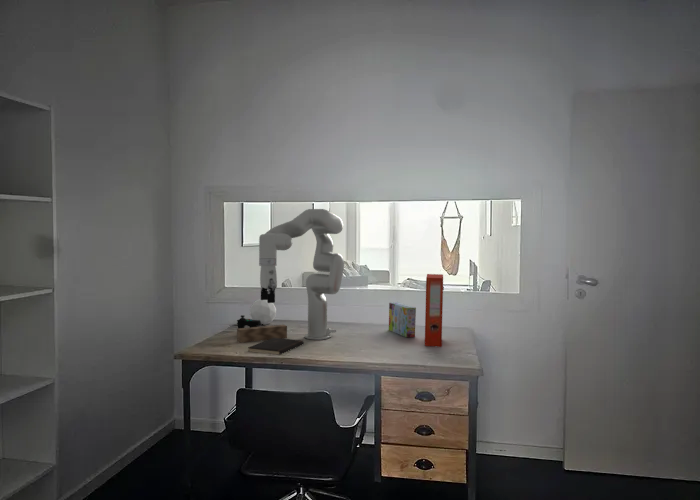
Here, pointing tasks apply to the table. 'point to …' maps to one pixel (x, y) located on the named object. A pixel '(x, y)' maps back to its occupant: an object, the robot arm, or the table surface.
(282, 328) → the brown wooden block
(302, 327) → the table surface
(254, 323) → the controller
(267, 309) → the geometric sphere
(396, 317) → the snack box
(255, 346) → the hardcover book
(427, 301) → the file binder
